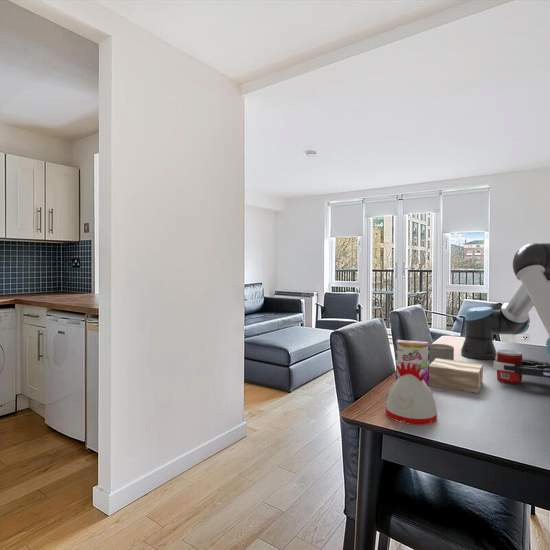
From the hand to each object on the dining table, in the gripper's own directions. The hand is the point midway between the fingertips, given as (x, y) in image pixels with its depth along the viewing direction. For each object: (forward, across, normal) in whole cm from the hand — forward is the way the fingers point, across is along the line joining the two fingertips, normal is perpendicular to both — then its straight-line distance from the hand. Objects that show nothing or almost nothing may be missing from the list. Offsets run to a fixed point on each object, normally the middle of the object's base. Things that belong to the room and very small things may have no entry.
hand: (494, 363), depth 142 cm
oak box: (+11, -16, -6) cm, 20 cm away
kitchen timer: (+17, -54, -6) cm, 57 cm away
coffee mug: (+21, +1, -6) cm, 22 cm away
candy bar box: (+23, -29, -6) cm, 38 cm away
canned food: (-5, 0, -6) cm, 8 cm away
